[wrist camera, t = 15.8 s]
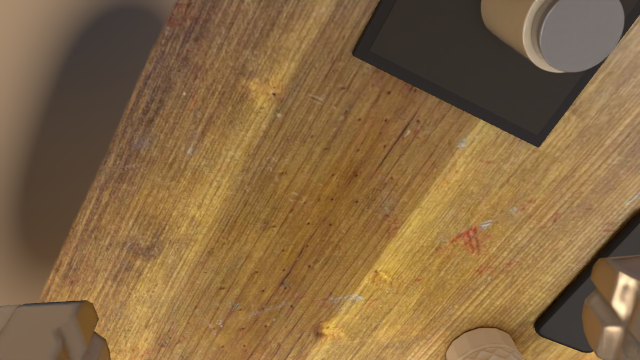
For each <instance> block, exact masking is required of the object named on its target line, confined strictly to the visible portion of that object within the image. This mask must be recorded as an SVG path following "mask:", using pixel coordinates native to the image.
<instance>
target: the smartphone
mask: <svg viewBox="0 0 640 360" xmlns="http://www.w3.org/2000/svg"><path fill="white" fill-rule="evenodd" d="M633 255H640V213H639V214H638V215H636V216H635V217H634V218H633V219H632V220H631V221H630V222H629V223H628V225H626V226H625V228H624V229H623V230H622V231H621V232H620V233H619V234H618V235H617V236H616V237H615V238H614V239H613V240H612V241H611V243H610V244H609V245H608V246H607V247H606V248H605V249H604V250H603V251H602V252H601V253H600V254H599V255H598V257H597V258H596V259H595V260H594V261H593V262H592V263H591V264H590V265H589V266H588V268H587V269H586V270H585V271H584V272H583V273H582V274H581V275H580V276H579V277H578V278H577V279H576V280H575V281H574V283H573V284H572V285H571V286H570V287H569V288H568V289H567V290H566V291H565V292H564V293H563V294H562V295H561V297H560V298H559V299H558V300H557V301H556V302H555V303H554V304H553V305H552V306H551V307H550V308H549V309H548V311H547V312H546V313H545V314H544V315H543V316H542V317H541V318H540V319H539V320H538V321H537V323H536V325H535V331H536V332H537V334H538V335H540V336H541V337H543V338H546V339H549V340H551V341H554V342H557V343H559V344H562V345H565V346H567V347H570V348H573V349H575V350H578V351H580V352H584V353H590V352H593V350H592V348H591V346H590V345H589V343H588V340H587V338H586V335H585V333H584V328H583V321H582V311H583V306H584V301H585V299H586V298H587V297H588V296H589V295H590V294H591V293H592V292H593V291H594V290H595V289H596V286H595V285H594V283H593V282H592V280H591V279H590V276H591V273H592V269H593V266H594V264H595V263H596V262H597V261H598V259H599V258H610V257H621V256H633Z"/></svg>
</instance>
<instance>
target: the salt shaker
mask: <svg viewBox="0 0 640 360" xmlns="http://www.w3.org/2000/svg"><path fill="white" fill-rule="evenodd" d="M481 14H482V19H483V21H484V24H485V26H486V27H487V29H488V30H489V31H490V32H491V33H492V34H493V35H494V36H496V37H497V38H499V39H500V40H501V41H503V42H504V43H506V44H507V45H508V46H510V47H511V48H512V49H514V50H515V51H517V52H518V53H519V54H521V55H522V56H524V57H525V58H526V59H528V60H529V61H530V62H532V63H533V64H535V65H536V66H538V67H539V68H541V69H543V70H545V71H549V72H555V73H563V72H580V71H584V70H587V69H589V68H592V67H594V66H595V65H597V64H599V63H600V62H601V61H603V60H604V59H605V58H606V57H607V56H608V55H609V54H610V53H611V52H612V51H613V49H614V48H615V46H616V45H617V43H618V41H619V40H620V37H621V35H622V31H623V28H624V11H623V7H622V5H621V2H620V1H619V0H482V1H481Z"/></svg>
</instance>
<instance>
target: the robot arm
mask: <svg viewBox="0 0 640 360" xmlns="http://www.w3.org/2000/svg"><path fill="white" fill-rule="evenodd" d="M590 279H591V280H592V282H593V283H594V285H595V286H596V289H595V290H594V291H593V292H592V293H591V294H590V295H589V296H588V297H587V298H586V299H585V301H584V306H583V311H582V321H583V328H584V333H585V335H586V338H587V340H588V343H589V345H590V346H591V348H592V350H593V351H594V353H595V354H596V356H597V357H599V358H600V359H602V360H640V255H633V256H621V257H610V258H599V259H598V261H597V262H596V263H595V264H594V266H593V269H592V273H591V276H590ZM98 320H99V318H98V315H97V313H96V310H95V308H94V305H93V303H91V302H89V301H87V300H82V301H65V302H48V303H32V304H23V305H7V306H0V360H111V358H110V351H109V348H108V344H107V341H106V339H104V338H103V337H102V336H100V335H99V334H98V333H96V332H95V331H94V330H95V327H96V325H97V322H98Z"/></svg>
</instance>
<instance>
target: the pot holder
mask: <svg viewBox="0 0 640 360" xmlns="http://www.w3.org/2000/svg"><path fill="white" fill-rule="evenodd" d="M481 1H482V0H380V2H379V4H378V6H377V7H376V9H375V11H374V13H373V15H372V17H371V19H370V20H369V22H368V24H367V26H366V28H365V30H364V32H363V33H362V35H361V37H360V39H359V41H358V43H357V45H356V46H355V48H354V50H353V52H352V54H353V56H355V57H357V58H359V59H361V60H363V61H365V62H367V63H369V64H371V65H373V66H375V67H377V68H379V69H381V70H383V71H385V72H387V73H389V74H391V75H393V76H395V77H397V78H399V79H401V80H403V81H405V82H407V83H409V84H411V85H413V86H415V87H417V88H419V89H421V90H423V91H425V92H427V93H429V94H431V95H433V96H435V97H437V98H439V99H441V100H443V101H445V102H447V103H449V104H451V105H453V106H455V107H457V108H459V109H461V110H463V111H466V112H468V113H470V114H472V115H474V116H476V117H478V118H480V119H482V120H484V121H486V122H488V123H490V124H492V125H494V126H496V127H498V128H500V129H502V130H504V131H506V132H508V133H510V134H512V135H514V136H516V137H518V138H520V139H522V140H524V141H526V142H528V143H530V144H532V145H534V146H536V147H540V145H541V144H542V143H543V141H544V140H545V139H546V137H547V136H548V135H549V133H550V132H551V131H552V129H553V128H554V127H555V126H556V124H557V123H558V122H559V120H560V119H561V118H562V116H563V115H564V114H565V112H566V111H567V110H568V108H569V107H570V106H571V104H572V103H573V102H574V100H575V99H576V98H577V97H578V95H579V94H580V93H581V91H582V90H583V89H584V87H585V86H586V85H587V83H588V82H589V81H590V79H591V78H592V77H593V75H594V74H595V73H596V72H597V70H598V69H599V68H600V66H601V65H602V64H603V62H604V61H605V60H606V58H607V57H608V56H609V55H608V56H607V57H606V58H605V59H604V60H603V61H601V62H600V63H599V64H597V65H595V66H594V67H592V68H589V69H587V70H584V71H580V72H563V73H555V72H549V71H545V70H543V69H541V68H539V67H538V66H536V65H535V64H533V63H532V62H530V61H529V60H528V59H526V58H525V57H524V56H522V55H521V54H519V53H518V52H517V51H515V50H514V49H512V48H511V47H510V46H508V45H507V44H506V43H504V42H503V41H501V40H500V39H499V38H497V37H496V36H494V35H493V34H492V33H491V32H490V31H489V30H488V29H487V27H486V26H485V24H484V21H483V19H482V14H481ZM619 1H620V2H621V5H622V7H623V11H624V28H623V31H622V35H621V37H620V40H621V39H622V37H623V36H624V35H625V33H626V32H627V31H628V29H629V28H630V27H631V25H632V24H633V23H634V21H635V20H636V19H637V18H638V16H639V15H640V0H619ZM620 40H619V41H620ZM619 41H618V43H619ZM618 43H617V44H618ZM615 47H616V46H615Z"/></svg>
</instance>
